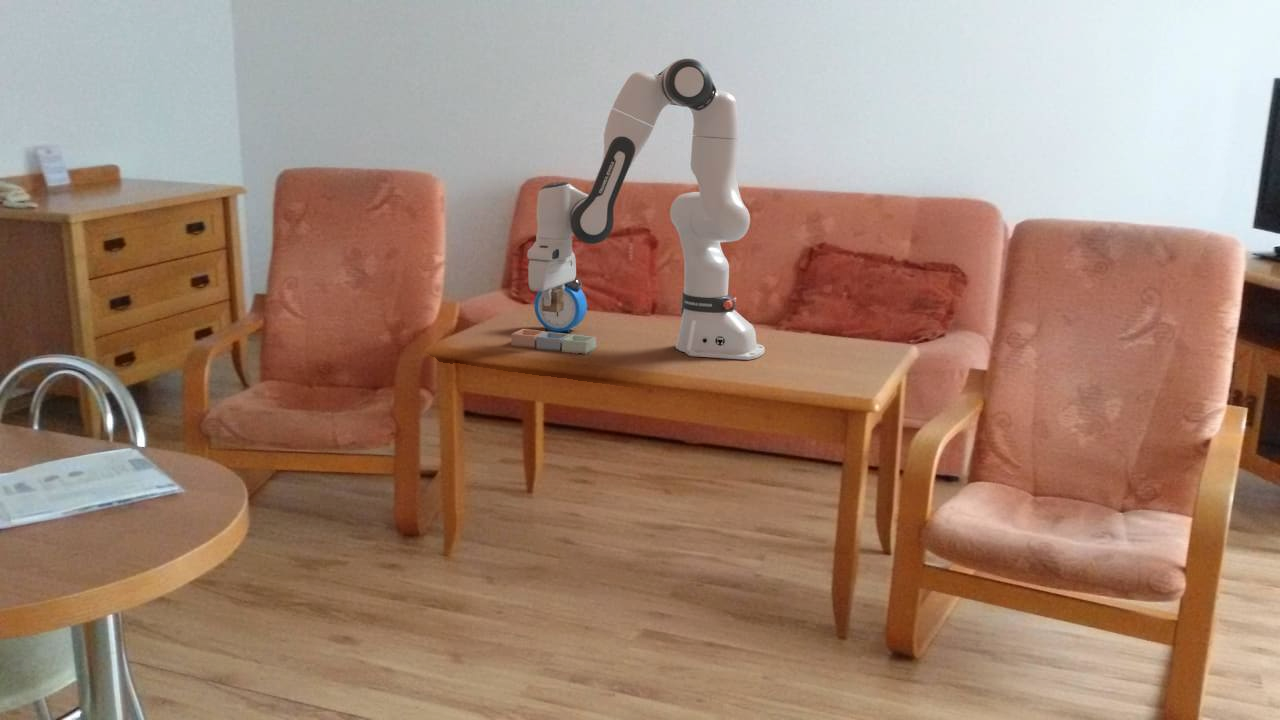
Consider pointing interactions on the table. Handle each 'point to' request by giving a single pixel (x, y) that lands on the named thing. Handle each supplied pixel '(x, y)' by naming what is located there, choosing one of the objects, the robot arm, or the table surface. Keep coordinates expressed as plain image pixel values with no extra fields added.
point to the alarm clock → (572, 309)
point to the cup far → (526, 338)
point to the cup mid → (551, 341)
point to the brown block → (555, 301)
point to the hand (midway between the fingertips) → (552, 303)
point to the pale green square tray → (578, 344)
